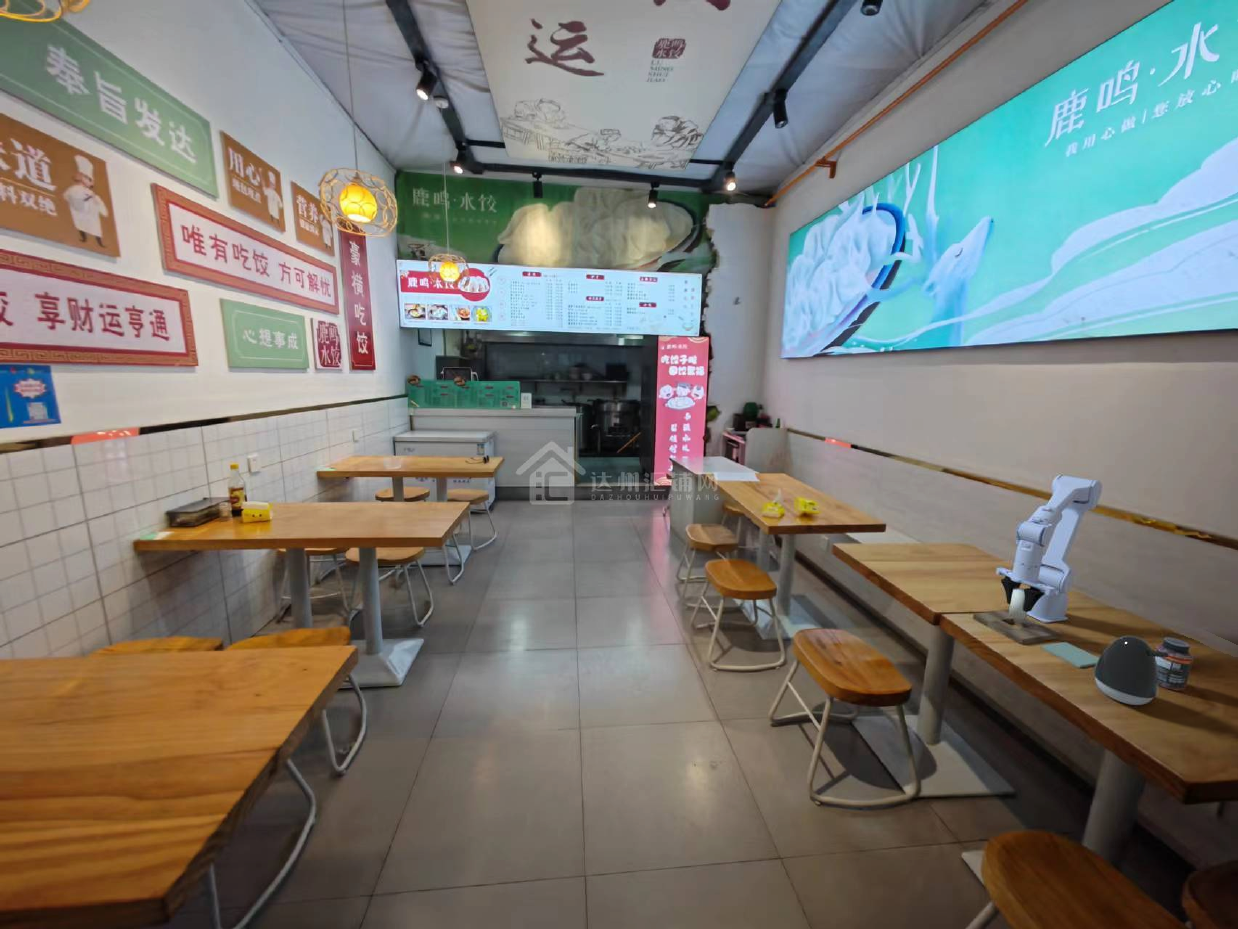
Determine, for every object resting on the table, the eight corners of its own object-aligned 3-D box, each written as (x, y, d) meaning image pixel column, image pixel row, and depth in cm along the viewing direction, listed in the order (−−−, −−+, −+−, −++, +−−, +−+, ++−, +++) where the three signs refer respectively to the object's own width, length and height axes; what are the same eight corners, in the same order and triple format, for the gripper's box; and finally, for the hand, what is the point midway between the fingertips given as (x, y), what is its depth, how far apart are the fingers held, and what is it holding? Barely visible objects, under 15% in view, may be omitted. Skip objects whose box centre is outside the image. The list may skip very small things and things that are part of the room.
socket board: (1008, 613, 147) (1009, 609, 147) (1058, 638, 134) (1060, 633, 134) (972, 618, 144) (973, 614, 143) (1021, 644, 130) (1022, 639, 130)
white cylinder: (1015, 611, 140) (1020, 586, 139) (1029, 618, 137) (1034, 593, 135) (1005, 613, 140) (1009, 588, 138) (1019, 620, 136) (1024, 594, 134)
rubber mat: (1065, 643, 131) (1065, 641, 131) (1104, 663, 123) (1105, 661, 122) (1040, 647, 129) (1041, 645, 129) (1079, 667, 120) (1079, 665, 120)
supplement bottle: (1166, 677, 117) (1178, 635, 115) (1192, 693, 111) (1205, 650, 109) (1140, 675, 118) (1151, 634, 116) (1164, 691, 112) (1176, 648, 110)
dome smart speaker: (1141, 718, 103) (1158, 655, 100) (1080, 688, 112) (1094, 630, 109) (1163, 705, 107) (1180, 645, 104) (1102, 678, 116) (1116, 622, 113)
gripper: (991, 554, 141) (983, 596, 143) (1045, 575, 127) (1035, 621, 130) (1009, 553, 142) (1001, 594, 145) (1064, 572, 129) (1054, 618, 131)
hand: (1018, 607), depth 138 cm, fingers closed on white cylinder, 4 cm apart
